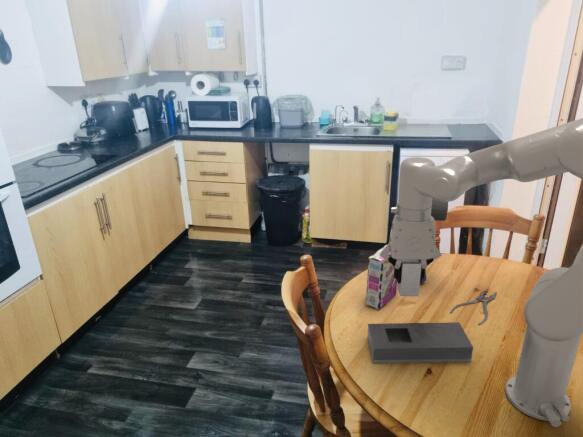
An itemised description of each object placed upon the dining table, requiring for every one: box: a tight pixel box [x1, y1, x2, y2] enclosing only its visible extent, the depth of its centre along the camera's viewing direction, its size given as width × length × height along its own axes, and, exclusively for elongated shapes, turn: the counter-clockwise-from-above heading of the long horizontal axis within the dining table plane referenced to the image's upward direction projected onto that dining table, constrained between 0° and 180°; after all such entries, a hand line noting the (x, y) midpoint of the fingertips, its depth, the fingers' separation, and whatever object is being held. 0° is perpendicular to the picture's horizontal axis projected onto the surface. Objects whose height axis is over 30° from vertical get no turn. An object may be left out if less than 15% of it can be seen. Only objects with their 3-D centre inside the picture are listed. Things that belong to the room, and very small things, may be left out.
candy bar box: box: [365, 244, 398, 311], centre depth 130 cm, size 11×5×16 cm, turn 141°
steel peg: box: [397, 260, 421, 297], centre depth 107 cm, size 4×4×9 cm
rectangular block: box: [366, 321, 474, 364], centre depth 111 cm, size 10×24×4 cm, turn 89°
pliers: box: [449, 288, 498, 326], centre depth 130 cm, size 10×1×20 cm
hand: (408, 279), depth 107 cm, fingers closed on steel peg, 4 cm apart
